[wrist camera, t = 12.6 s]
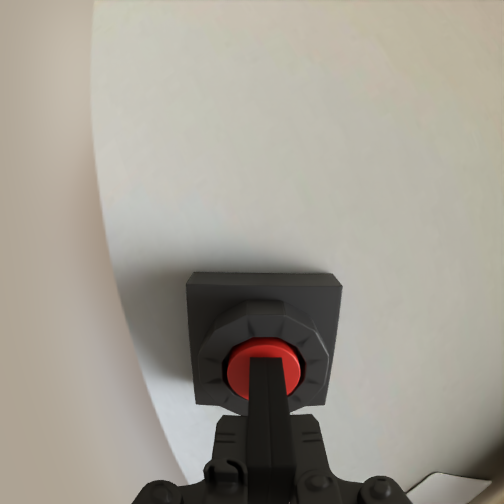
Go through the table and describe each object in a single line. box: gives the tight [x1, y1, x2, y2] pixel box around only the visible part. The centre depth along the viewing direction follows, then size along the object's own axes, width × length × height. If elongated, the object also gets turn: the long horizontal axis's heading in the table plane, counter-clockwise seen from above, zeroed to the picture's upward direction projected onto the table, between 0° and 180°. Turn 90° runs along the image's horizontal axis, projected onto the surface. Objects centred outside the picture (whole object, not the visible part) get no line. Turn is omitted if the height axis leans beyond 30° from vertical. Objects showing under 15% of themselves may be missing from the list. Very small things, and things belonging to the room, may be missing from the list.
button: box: [227, 337, 300, 400], centre depth 15 cm, size 4×4×2 cm
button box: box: [186, 272, 343, 416], centre depth 17 cm, size 8×8×4 cm
